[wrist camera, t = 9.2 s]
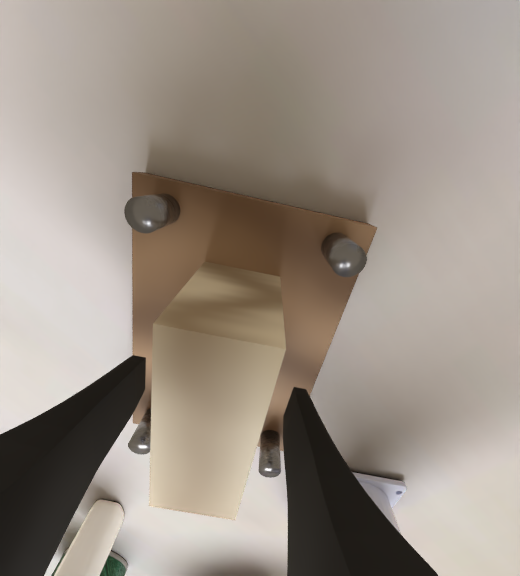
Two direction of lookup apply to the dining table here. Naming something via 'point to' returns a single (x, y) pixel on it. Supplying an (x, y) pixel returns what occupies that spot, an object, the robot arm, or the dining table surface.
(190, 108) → the dining table surface
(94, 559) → the eye dropper bottle
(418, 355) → the dining table surface
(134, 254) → the peg board
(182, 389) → the wooden block
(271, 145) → the dining table surface
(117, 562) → the canned tomato
